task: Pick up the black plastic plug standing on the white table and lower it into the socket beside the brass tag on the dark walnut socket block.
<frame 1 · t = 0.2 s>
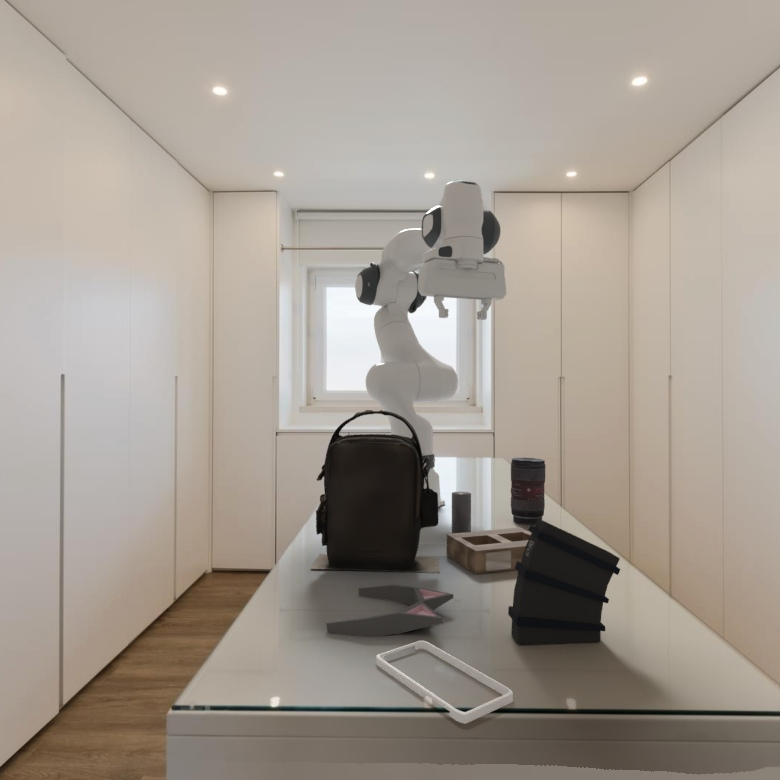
hand: (463, 318, 124), 47 cm above the table, fingers open, 8 cm apart
shoulder bag: (376, 564, 103), on the table
socket block: (499, 559, 106), on the table
phone case: (440, 686, 62), on the table
camera lens: (527, 522, 136), on the table
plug: (461, 541, 119), on the table
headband: (394, 620, 79), on the table
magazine: (564, 640, 72), on the table
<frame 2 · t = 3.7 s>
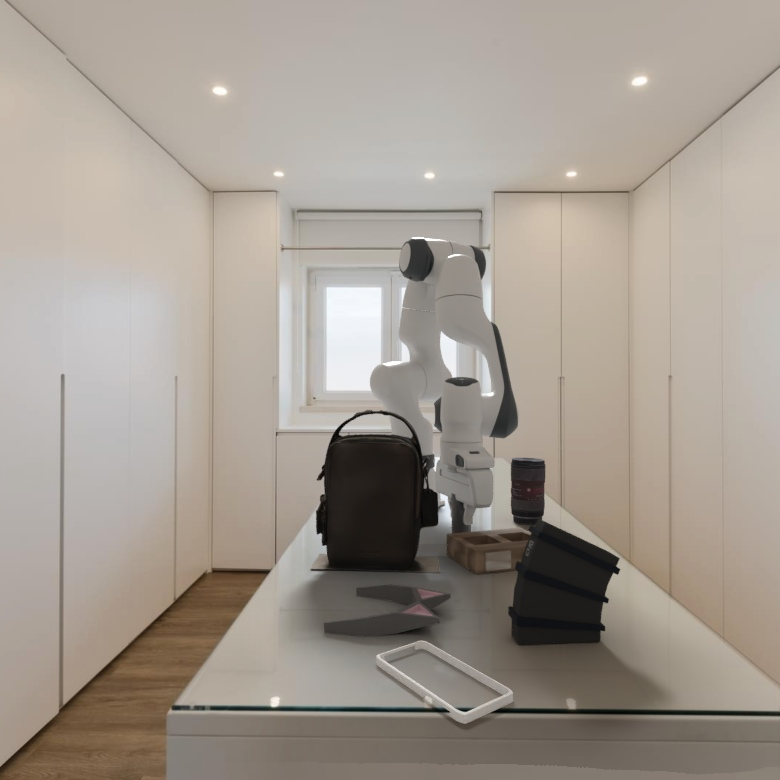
hand: (461, 521, 119), 4 cm above the table, fingers closed on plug, 4 cm apart
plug: (461, 541, 119), on the table, touching gripper
everything else where it was.
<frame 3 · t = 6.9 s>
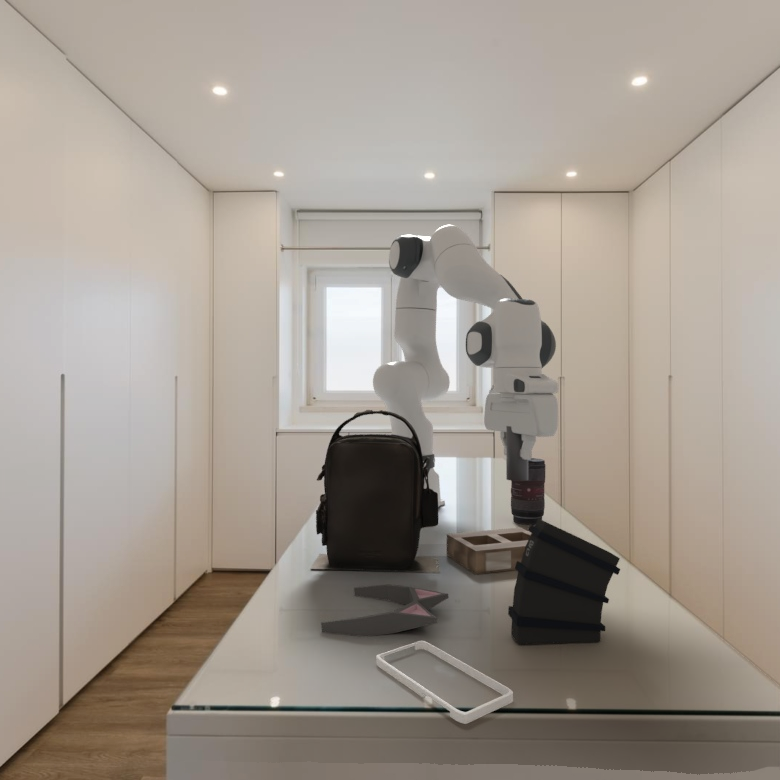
hand: (517, 457, 107), 19 cm above the table, fingers closed on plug, 4 cm apart
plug: (517, 479, 107), point 15 cm above the table, touching gripper
everything else where it was.
when the fingers open (6 cm above the table, at t = 10.1 s): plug drops 2 cm, resting in socket block.
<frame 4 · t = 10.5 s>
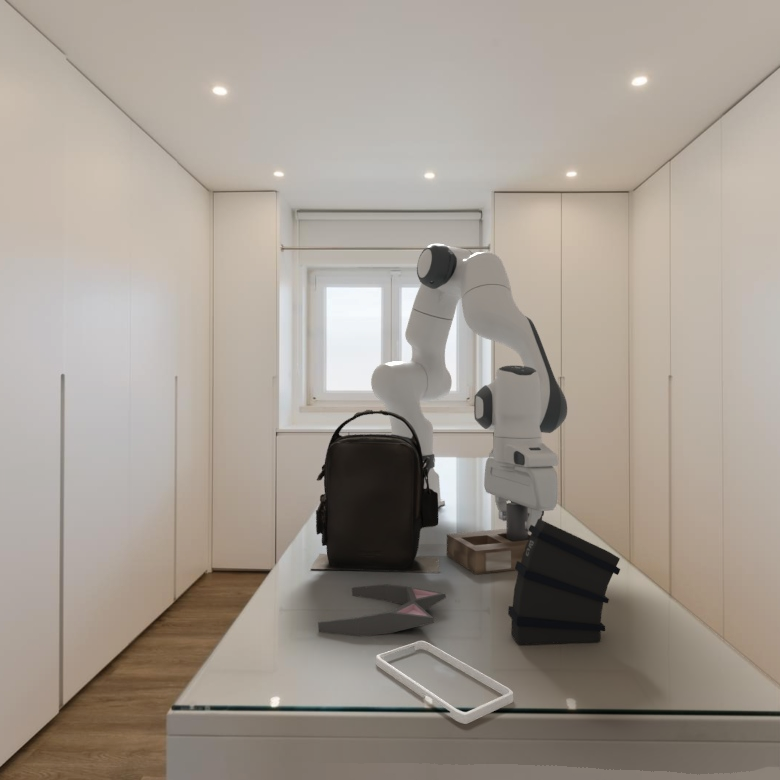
hand: (517, 525, 107), 6 cm above the table, fingers open, 8 cm apart
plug: (517, 557, 107), resting in socket block
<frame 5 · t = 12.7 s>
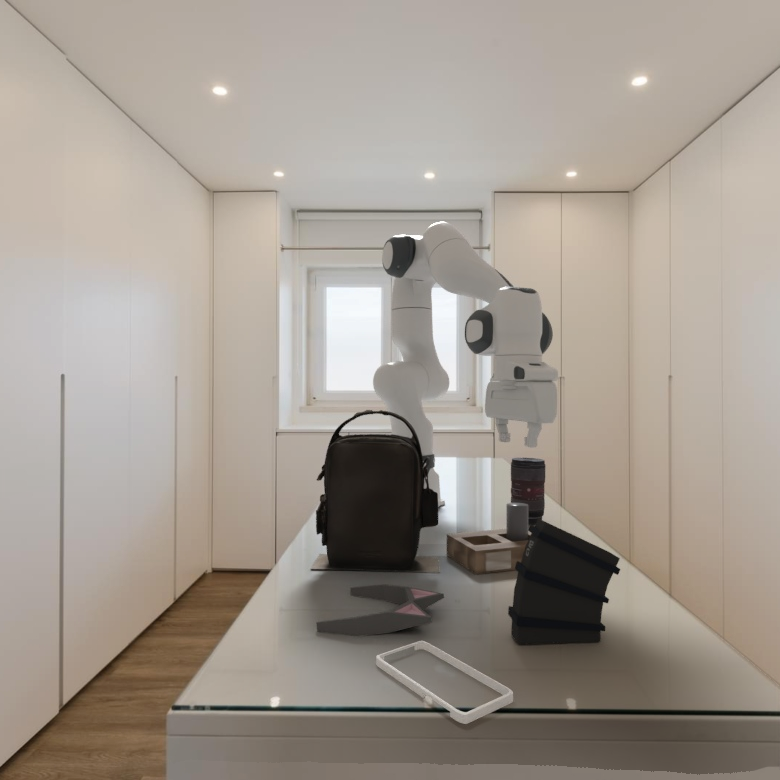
hand: (517, 444, 108), 21 cm above the table, fingers open, 8 cm apart
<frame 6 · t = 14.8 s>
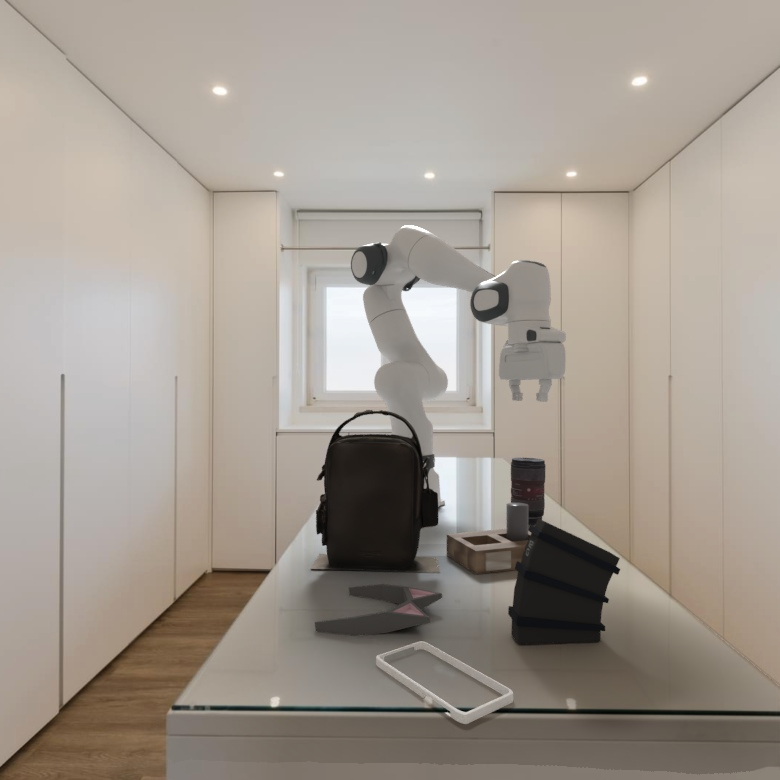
hand: (529, 401, 121), 29 cm above the table, fingers open, 8 cm apart
at the end: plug 0.0 cm from the target spot on the socket block, point 0.0 cm above the socket block's base; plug tilted 0°; the gripper is holding nothing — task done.
